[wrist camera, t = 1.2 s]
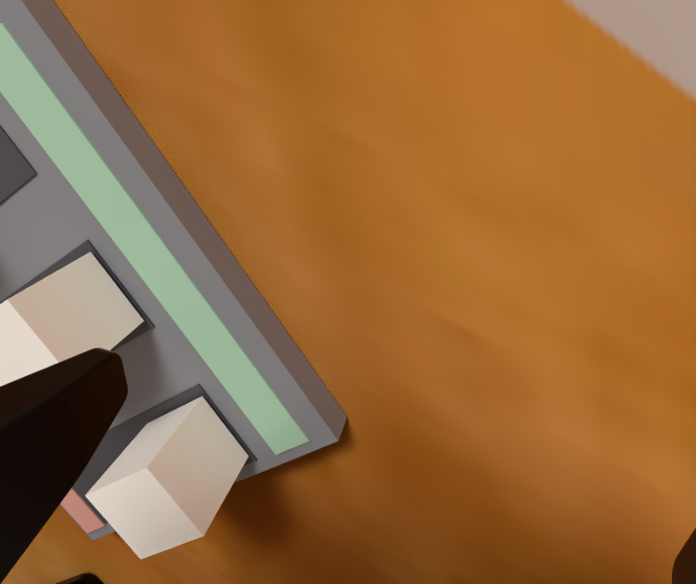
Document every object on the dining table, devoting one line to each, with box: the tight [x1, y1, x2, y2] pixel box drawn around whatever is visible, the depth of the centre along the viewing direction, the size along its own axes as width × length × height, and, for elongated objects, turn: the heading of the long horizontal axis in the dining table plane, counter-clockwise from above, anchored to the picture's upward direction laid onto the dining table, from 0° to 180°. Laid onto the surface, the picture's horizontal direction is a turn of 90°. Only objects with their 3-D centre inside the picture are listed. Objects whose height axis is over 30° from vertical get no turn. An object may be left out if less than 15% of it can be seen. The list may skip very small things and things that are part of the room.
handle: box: [0, 252, 144, 386], centre depth 20 cm, size 3×3×4 cm
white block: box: [85, 396, 249, 559], centre depth 21 cm, size 3×3×4 cm
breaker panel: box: [0, 0, 347, 540], centre depth 23 cm, size 14×18×2 cm
